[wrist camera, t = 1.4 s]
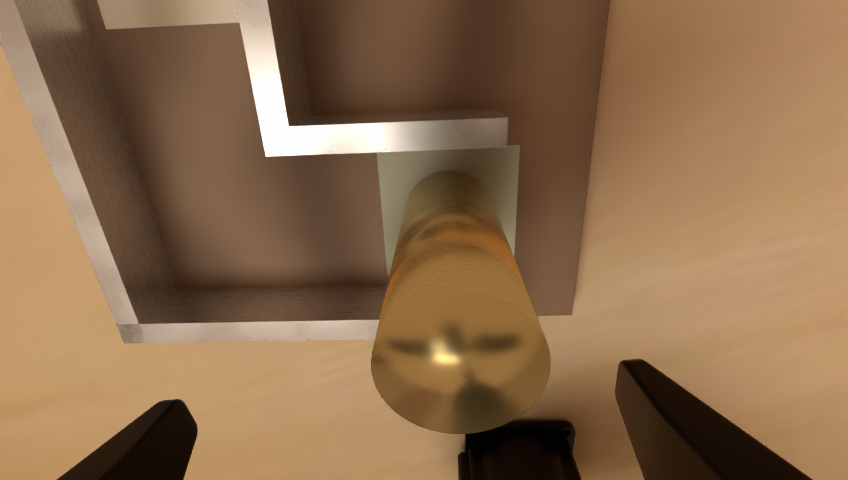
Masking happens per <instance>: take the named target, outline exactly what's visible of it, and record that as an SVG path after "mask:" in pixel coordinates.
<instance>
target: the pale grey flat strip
mask: <svg viewBox="0 0 848 480" xmlns="http://www.w3.org/2000/svg"><path fill="white" fill-rule="evenodd" d="M85 1H86V4H87V7H88V10H89V13H90V16H91V19H92V22H93V25H94V29H95V32H96V35H97V38H98V41H99V44H100V47H101V50H102V53H103V56H104V59H105V62H106V65H107V69H108V72H109V75H110V78H111V81H112V84H113V87H114V90H115V93H116V96H117V99H118V102H119V105H120V108H121V112H122V115H123V118H124V121H125V124H126V127H127V130H128V133H129V136H130V139H131V142H132V145H133V148H134V152H135V155H136V158H137V161H138V164H139V167H140V170H141V173H142V176H143V179H144V182H145V185H146V188H147V191H148V195H149V198H150V201H151V204H152V207H153V210H154V213H155V216H156V219H157V222H158V225H159V228H160V231H161V235H162V238H163V241H164V244H165V247H166V250H167V253H168V256H169V259H170V262H171V265H172V268H173V271H174V274H175V278H176V281H177V284H178V287H179V289H184V288H229V287H274V286H319V285H364V284H388V280H389V275H390V271H391V266H392V262H393V257H394V253H395V249H396V244H397V240H398V235H399V231H400V226H401V222H402V217H403V213H404V209H405V204H406V201H407V198H408V196H409V194H410V193H411V191H412V190H413V188H414V187H415V186H416V185H417V184H418V183H419V182H420V181H422V180H423V179H424V178H426V177H428V176H430V175H432V174H435V173H439V172H445V171H455V172H461V173H464V174H467V175H469V176H471V177H473V178H475V179H476V180H478V181H479V182H480V183H481V184H482V185H483V186H484V187H485V188H486V190H487V191H488V193H489V195H490V197H491V199H492V202H493V204H494V207H495V210H496V212H497V215H498V217H499V220H500V222H501V225H502V228H503V230H504V233H505V235H506V238H507V241H508V243H509V246H510V248H511V251H512V253H513V256H514V259H515V261H516V264H517V266H518V269H519V271H520V274H521V277H522V279H523V282H524V284H525V287H526V290H527V292H528V295H529V297H530V300H531V302H532V305H533V308H534V310H535V313H536V315H537V316H549V315H572V310H573V302H574V293H575V285H576V277H577V269H578V260H579V252H580V244H581V236H582V227H583V219H584V211H585V202H586V194H587V186H588V178H589V169H590V161H591V153H592V144H593V136H594V128H595V120H596V111H597V103H598V95H599V86H600V78H601V70H602V62H603V53H604V45H605V37H606V29H607V20H608V12H609V4H610V0H296V3H297V9H298V16H299V23H300V30H301V37H302V44H303V51H304V57H305V64H306V71H307V78H308V85H309V92H310V98H311V105H312V112H313V116H318V115H342V114H367V113H391V112H415V111H439V110H463V109H488V108H497V109H498V110H499V111H501V112H502V113H503V114H504V115H506V116H507V117H508V135H507V148H481V149H454V150H427V151H400V152H373V153H346V154H319V155H292V156H266V154H265V149H264V144H263V139H262V134H261V129H260V124H259V119H258V114H257V109H256V104H255V99H254V93H253V88H252V83H251V78H250V73H249V68H248V63H247V58H246V53H245V48H244V43H243V38H242V33H241V28H240V23H239V18H238V13H237V8H236V3H235V0H85Z"/></svg>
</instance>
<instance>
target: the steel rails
mask: <svg viewBox="0 0 848 480" xmlns="http://www.w3.org/2000/svg"><path fill="white" fill-rule="evenodd" d="M235 3H236V8H237V13H238V18H239V23H240V28H241V33H242V38H243V43H244V48H245V53H246V58H247V63H248V68H249V73H250V78H251V83H252V88H253V93H254V99H255V104H256V109H257V114H258V119H259V124H260V129H261V134H262V139H263V144H264V149H265V154H266V156H292V155H319V154H346V153H373V152H400V151H427V150H454V149H481V148H507V135H508V117H507V116H506V115H504V114H503V113H502V112H501V111H499V110H498V109H497V108H488V109H463V110H439V111H415V112H391V113H367V114H342V115H318V116H313V112H312V105H311V98H310V92H309V85H308V78H307V71H306V64H305V57H304V51H303V44H302V37H301V30H300V23H299V16H298V9H297V3H296V0H235ZM0 43H1V46H2V48H3V51H4V53H5V55H6V58H7V60H8V63H9V65H10V67H11V70H12V72H13V75H14V77H15V80H16V82H17V84H18V87H19V89H20V92H21V94H22V97H23V99H24V101H25V104H26V106H27V109H28V111H29V114H30V116H31V118H32V121H33V123H34V126H35V128H36V131H37V133H38V135H39V138H40V140H41V143H42V145H43V147H44V150H45V152H46V155H47V157H48V160H49V162H50V164H51V167H52V169H53V172H54V174H55V177H56V179H57V181H58V184H59V186H60V189H61V191H62V194H63V196H64V198H65V201H66V203H67V206H68V208H69V211H70V213H71V215H72V218H73V220H74V223H75V225H76V227H77V230H78V232H79V235H80V237H81V240H82V242H83V244H84V247H85V249H86V252H87V254H88V257H89V259H90V261H91V264H92V266H93V269H94V271H95V274H96V276H97V278H98V281H99V283H100V286H101V288H102V291H103V293H104V295H105V298H106V300H107V303H108V305H109V307H110V310H111V312H112V315H113V317H114V320H115V322H116V324H117V327H118V329H119V332H120V334H121V337H122V339H123V341H124V343H174V342H236V341H298V340H361V339H375V338H376V333H377V329H378V324H379V320H380V315H381V311H382V306H383V302H384V298H385V293H386V289H387V284H364V285H319V286H274V287H229V288H184V289H179V287H178V284H177V281H176V278H175V274H174V271H173V268H172V265H171V262H170V259H169V256H168V253H167V250H166V247H165V244H164V241H163V238H162V235H161V231H160V228H159V225H158V222H157V219H156V216H155V213H154V210H153V207H152V204H151V201H150V198H149V195H148V191H147V188H146V185H145V182H144V179H143V176H142V173H141V170H140V167H139V164H138V161H137V158H136V155H135V152H134V148H133V145H132V142H131V139H130V136H129V133H128V130H127V127H126V124H125V121H124V118H123V115H122V112H121V108H120V105H119V102H118V99H117V96H116V93H115V90H114V87H113V84H112V81H111V78H110V75H109V72H108V69H107V65H106V62H105V59H104V56H103V53H102V50H101V47H100V44H99V41H98V38H97V35H96V32H95V29H94V25H93V22H92V19H91V16H90V13H89V10H88V7H87V4H86V1H85V0H0Z"/></svg>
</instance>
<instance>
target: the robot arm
mask: <svg viewBox="0 0 848 480" xmlns="http://www.w3.org/2000/svg"><path fill="white" fill-rule="evenodd" d="M615 395H616V400H617V403H618V406H619V409H620V412H621V414H622V417H623V420H624V423H625V426H626V428H627V431H628V434H629V437H630V440H631V443H632V445H633V448H634V451H635V454H636V457H637V459H638V462H639V465H640V468H641V471H642V473H643V476H644V478H645V480H813V479H811V478H810V477H808V476H807V475H806V474H804V473H803V472H801V471H800V470H798V469H797V468H796V467H794V466H793V465H791V464H790V463H789V462H787V461H786V460H784V459H783V458H782V457H780V456H779V455H777V454H776V453H774V452H773V451H772V450H770V449H769V448H767V447H766V446H765V445H763V444H762V443H760V442H759V441H758V440H756V439H755V438H753V437H752V436H751V435H749V434H748V433H746V432H745V431H743V430H742V429H741V428H739V427H738V426H736V425H735V424H734V423H732V422H731V421H729V420H728V419H727V418H725V417H724V416H722V415H721V414H719V413H718V412H717V411H715V410H714V409H712V408H711V407H710V406H708V405H707V404H705V403H704V402H703V401H701V400H700V399H698V398H697V397H695V396H694V395H693V394H691V393H690V392H688V391H687V390H686V389H684V388H683V387H681V386H680V385H679V384H677V383H676V382H674V381H673V380H671V379H670V378H669V377H667V376H666V375H664V374H663V373H662V372H660V371H659V370H657V369H656V368H655V367H653V366H652V365H650V364H649V363H647V362H646V361H644V360H642V359H632V360H623V361H621V362H620V363H619V366H618V372H617V380H616V387H615ZM564 430H565V431H564ZM197 432H198V430H197V424H196V422H195V420H194V418H193V417H192V415H191V413H190V411H189V410H188V408H187V406H186V404H185V403H184V402H183V401H182V400H180V399H174V400H164V401H160V402H158V403H157V404H155V405H154V406H153V407H151V408H150V409H149V410H147V411H146V412H145V413H143V414H142V415H141V416H140V417H138V418H137V419H136V420H134V421H133V422H132V423H130V424H129V425H128V426H126V427H125V428H124V429H123V430H121V431H120V432H119V433H117V434H116V435H115V436H113V437H112V438H111V439H109V440H108V441H107V442H106V443H104V444H103V445H102V446H100V447H99V448H98V449H96V450H95V451H94V452H92V453H91V454H90V455H89V456H87V457H86V458H85V459H83V460H82V461H81V462H79V463H78V464H77V465H75V466H74V467H73V468H71V469H70V470H69V471H68V472H66V473H65V474H64V475H62V476H61V477H60V478H58V479H57V480H183V479H184V476H185V473H186V469H187V466H188V463H189V460H190V457H191V454H192V450H193V447H194V444H195V441H196V438H197ZM574 438H575V429H574V427H573V425H572V423H570V422H567V421H544V422H509V423H507V424H505V425H503V426H500V427H497V428H494V429H491V430H487V431H483V432H477V433H469V434H465V452H461V453H460V454H459V455H458V480H581V477H580V474H579V471H578V468H577V465H576V462H575V460H574V457H573V454H572V452H573V445H574Z"/></svg>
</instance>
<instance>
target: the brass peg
mask: <svg viewBox="0 0 848 480" xmlns="http://www.w3.org/2000/svg"><path fill="white" fill-rule="evenodd" d="M550 360H551V358H550V352H549V347H548V344H547V341H546V339H545V336H544V333H543V331H542V328H541V326H540V323H539V320H538V318H537V315H536V313H535V310H534V308H533V305H532V302H531V300H530V297H529V295H528V292H527V290H526V287H525V284H524V282H523V279H522V277H521V274H520V271H519V269H518V266H517V264H516V261H515V259H514V256H513V253H512V251H511V248H510V246H509V243H508V241H507V238H506V235H505V233H504V230H503V228H502V225H501V222H500V220H499V217H498V215H497V212H496V210H495V207H494V204H493V202H492V199H491V197H490V195H489V193H488V191H487V190H486V188H485V187H484V186H483V185H482V184H481V183H480V182H479V181H478V180H476V179H475V178H473V177H471V176H469V175H467V174H464V173H461V172H455V171H445V172H439V173H435V174H432V175H430V176H428V177H426V178H424V179H423V180H422V181H420V182H419V183H418V184H417V185H416V186H415V187H414V188H413V190H412V191H411V193H410V194H409V196H408V198H407V201H406V204H405V209H404V213H403V217H402V222H401V226H400V231H399V235H398V240H397V244H396V249H395V253H394V257H393V262H392V266H391V271H390V275H389V280H388V284H387V289H386V293H385V298H384V302H383V306H382V311H381V315H380V320H379V324H378V329H377V333H376V338H375V342H374V346H373V351H372V358H371V371H372V376H373V380H374V383H375V385H376V388H377V390H378V392H379V393H380V395H381V397H382V398H383V399H384V401H385V402H386V403H387V404H388V405H389V406H390V407H391V408H392V409H393V410H394V411H395V412H396V413H397V414H399V415H400V416H401V417H403V418H405V419H406V420H408V421H409V422H411V423H414V424H416V425H418V426H420V427H423V428H426V429H429V430H433V431H437V432H443V433H450V434H469V433H477V432H483V431H487V430H491V429H494V428H497V427H500V426H503V425H505V424H507V423H509V422H511V421H513V420H514V419H516V418H517V417H519V416H521V415H522V414H523V413H524V412H526V411H527V410H528V409H529V408H530V407H531V406H532V405H533V404H534V403H535V402H536V400H537V399H538V398H539V396H540V395H541V393H542V392H543V390H544V388H545V386H546V383H547V380H548V378H549V373H550Z"/></svg>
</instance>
